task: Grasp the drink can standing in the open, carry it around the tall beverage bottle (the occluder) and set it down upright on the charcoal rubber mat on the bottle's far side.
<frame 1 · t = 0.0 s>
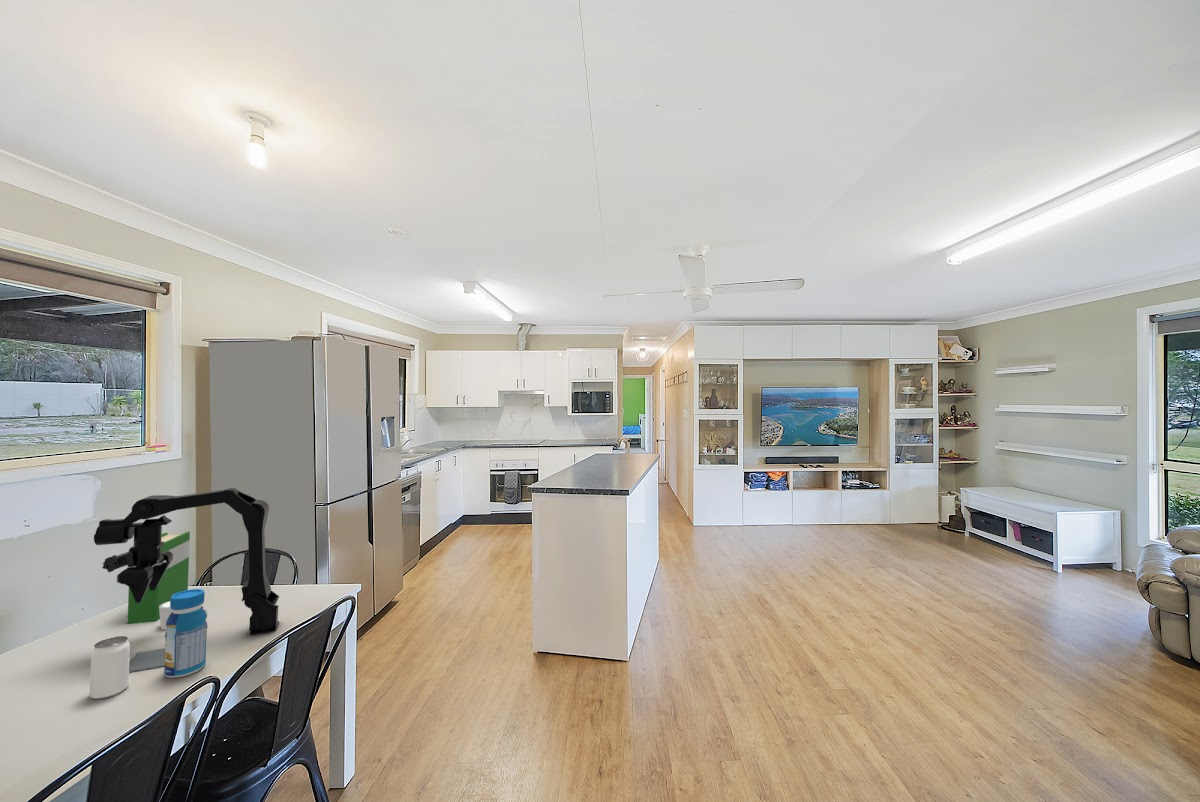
hand: (145, 596, 133), 15 cm above the table, fingers open, 9 cm apart
slate mat: (155, 659, 127), on the table
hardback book: (159, 611, 156), on the table
can: (109, 692, 112), on the table
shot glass: (173, 626, 146), on the table
beverage bottle: (185, 670, 122), on the table
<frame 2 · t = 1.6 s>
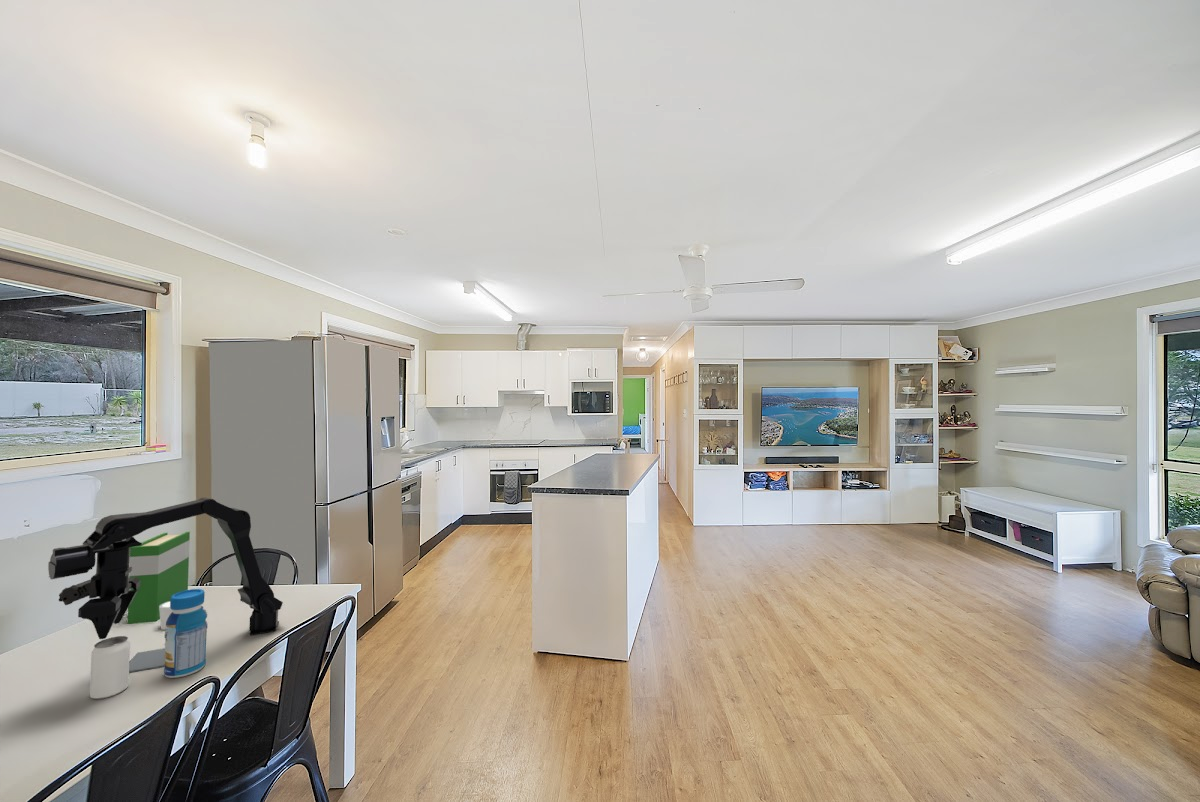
hand: (110, 630, 115), 13 cm above the table, fingers open, 9 cm apart
nothing on the table moved.
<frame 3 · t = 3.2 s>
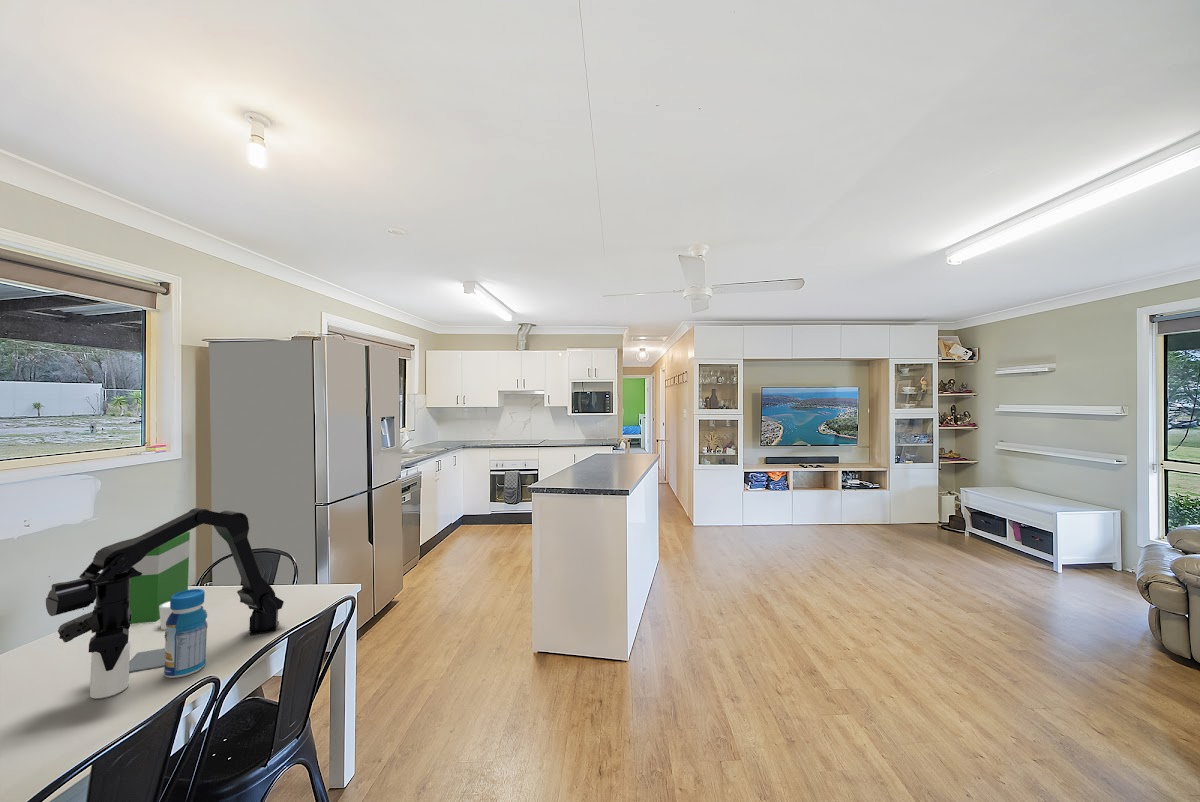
hand: (110, 664, 112), 7 cm above the table, fingers closed on can, 6 cm apart
can: (109, 692, 112), on the table, touching gripper
everything else where it was.
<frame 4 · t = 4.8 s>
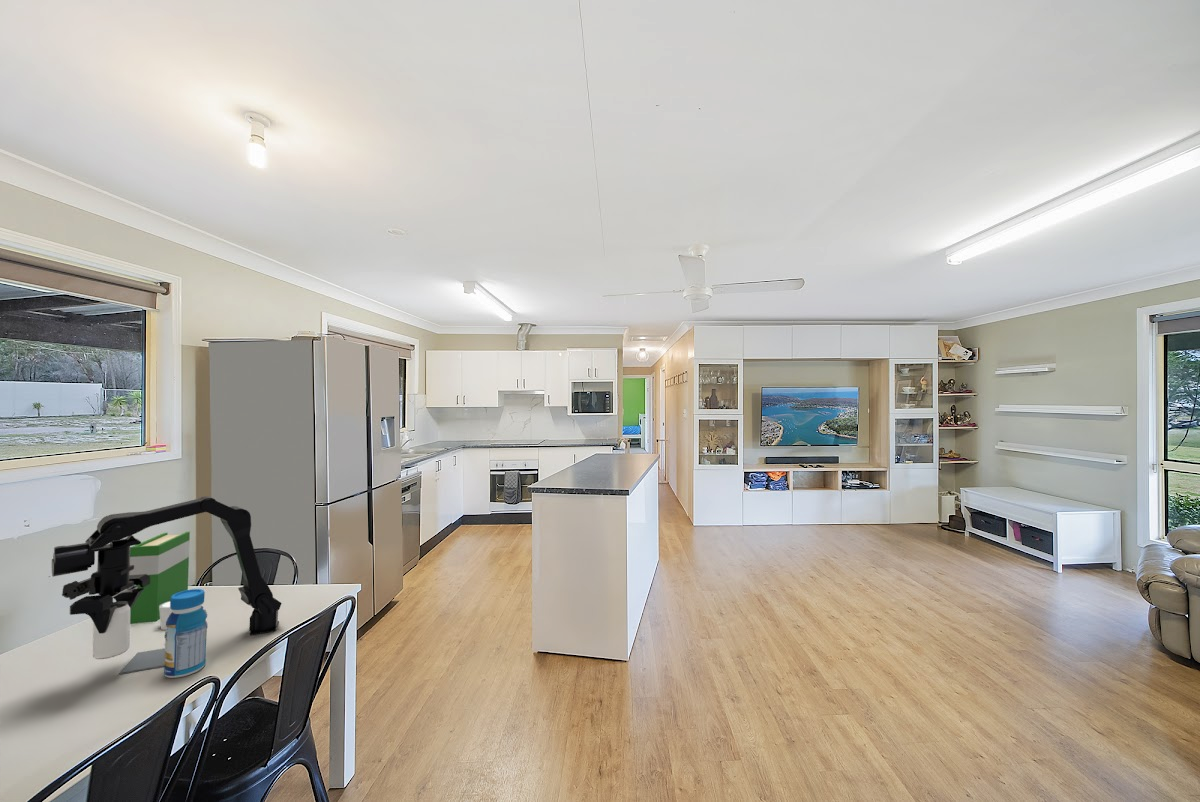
hand: (112, 626, 118), 13 cm above the table, fingers closed on can, 6 cm apart
can: (111, 653, 118), point 6 cm above the table, touching gripper
everything else where it was.
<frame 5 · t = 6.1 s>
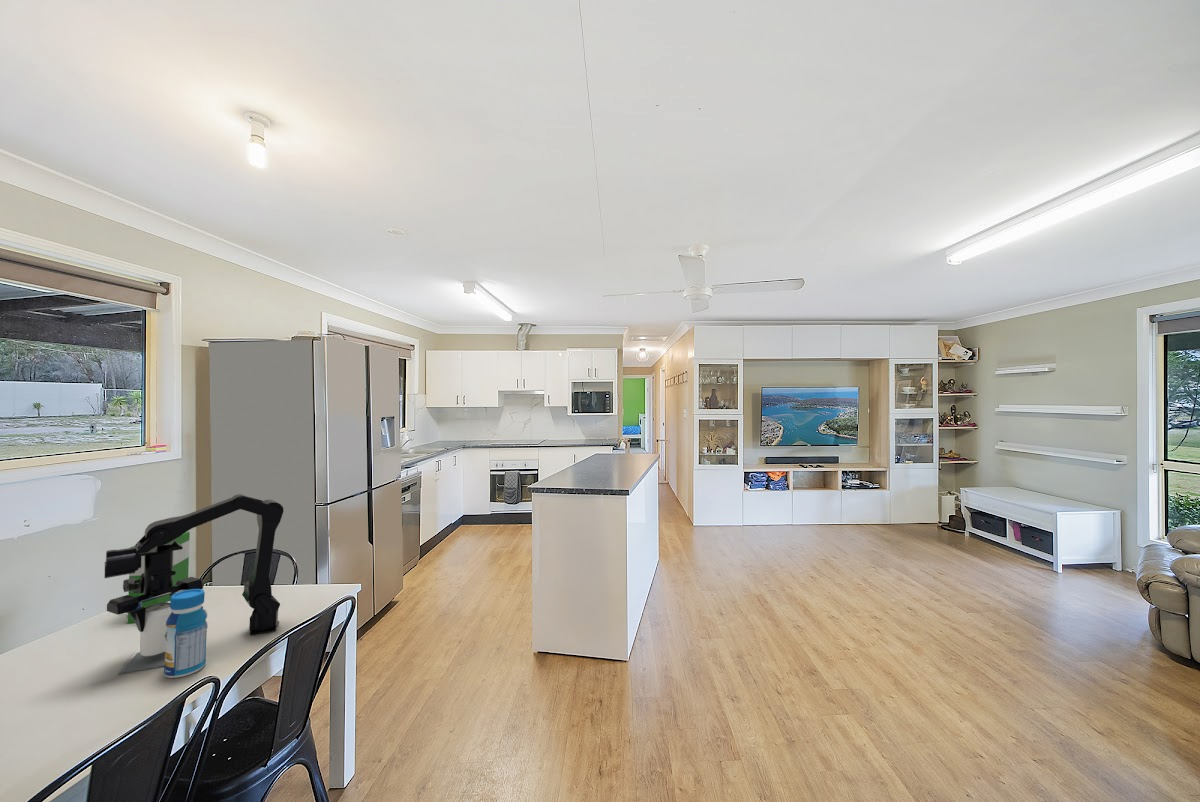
hand: (157, 625, 127), 9 cm above the table, fingers closed on can, 6 cm apart
can: (156, 651, 127), point 2 cm above the table, touching gripper
everything else where it was.
when the fingers open (8 cm above the table, at t = 6.9 s): can stays where it is, resting on slate mat.
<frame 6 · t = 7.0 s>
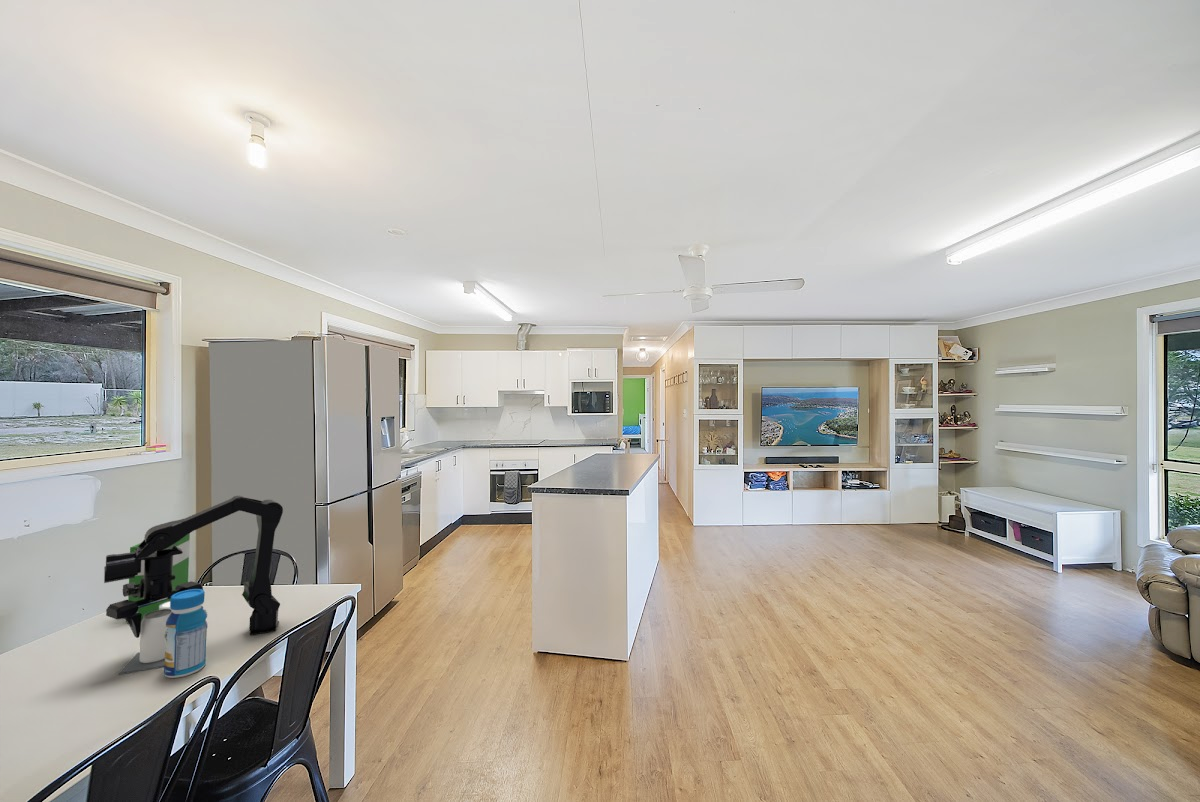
hand: (156, 630, 127), 8 cm above the table, fingers open, 8 cm apart
can: (155, 658, 127), resting on slate mat
everything else where it was.
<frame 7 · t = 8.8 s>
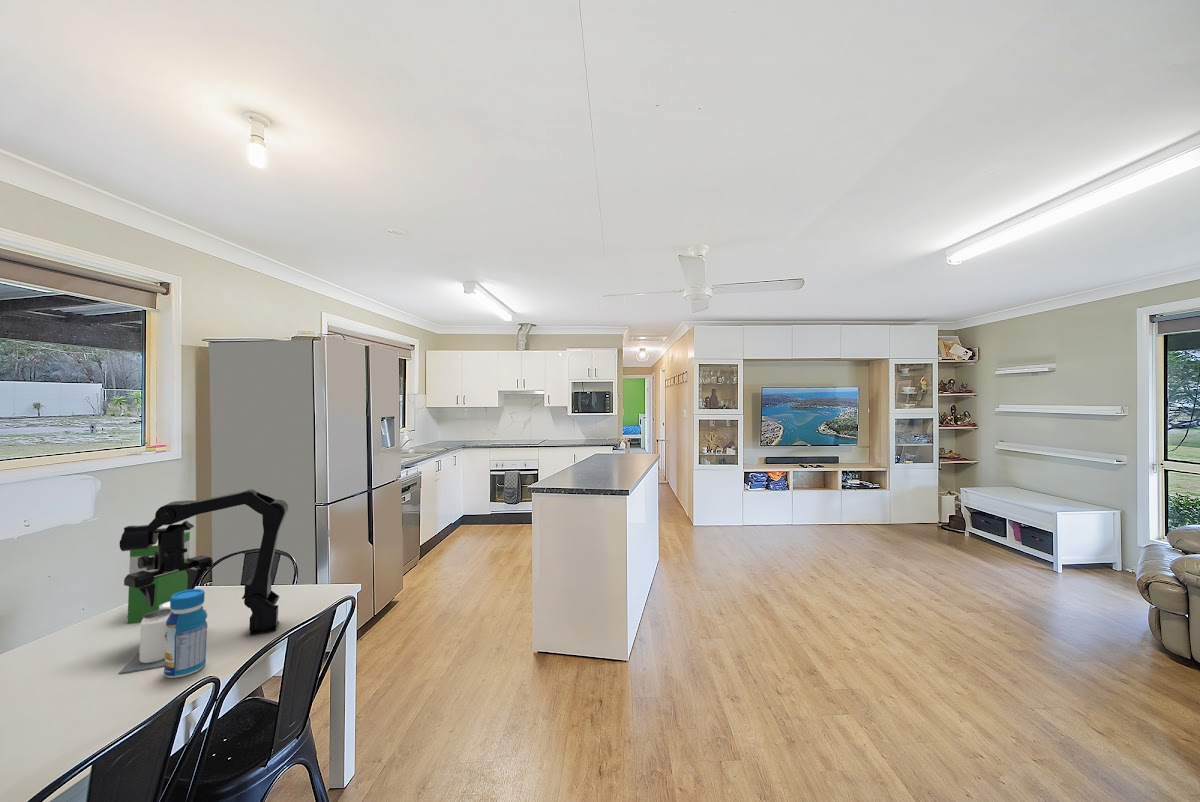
hand: (170, 600, 135), 13 cm above the table, fingers open, 9 cm apart
nothing on the table moved.
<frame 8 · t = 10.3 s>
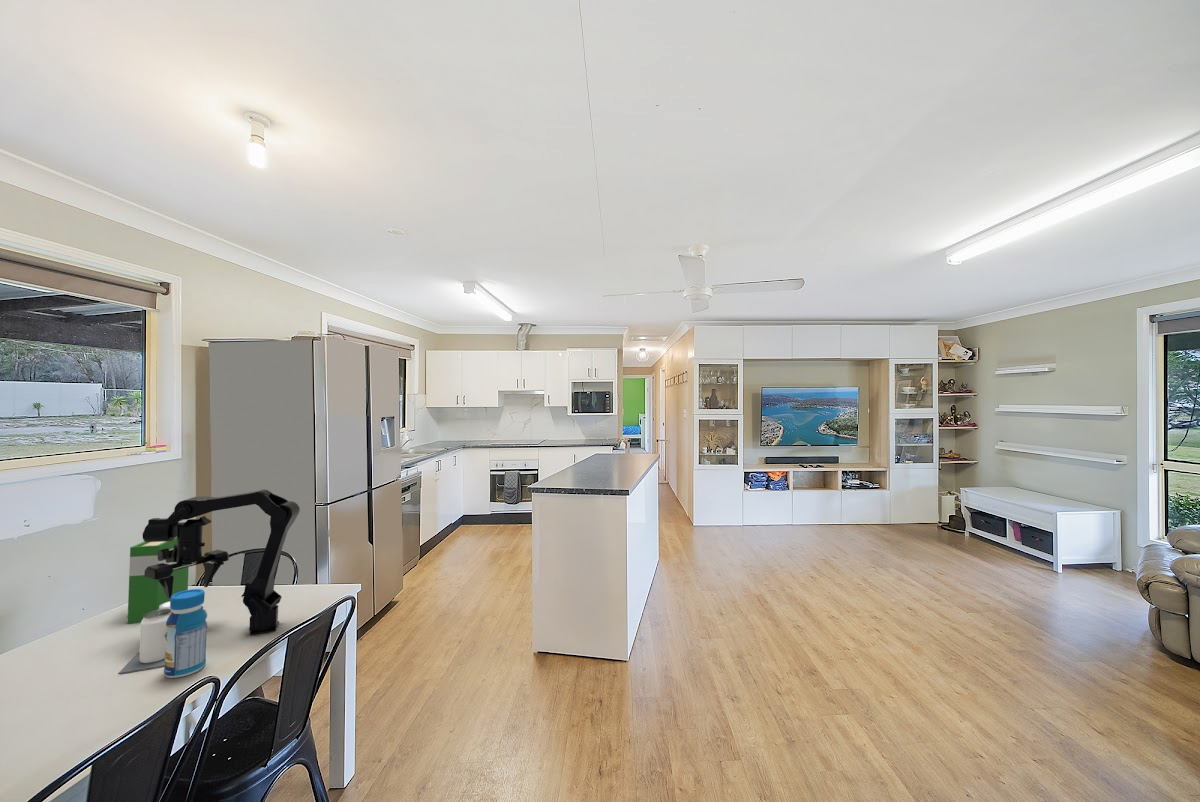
hand: (188, 592, 140), 13 cm above the table, fingers open, 9 cm apart
nothing on the table moved.
at the end: can 0.1 cm from the slate mat (horizontally); can tilted 0°; the gripper is holding nothing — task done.
